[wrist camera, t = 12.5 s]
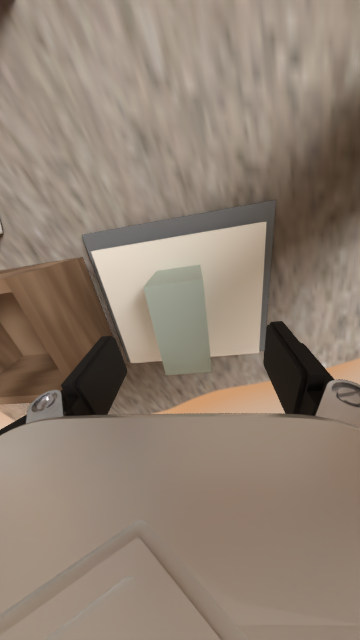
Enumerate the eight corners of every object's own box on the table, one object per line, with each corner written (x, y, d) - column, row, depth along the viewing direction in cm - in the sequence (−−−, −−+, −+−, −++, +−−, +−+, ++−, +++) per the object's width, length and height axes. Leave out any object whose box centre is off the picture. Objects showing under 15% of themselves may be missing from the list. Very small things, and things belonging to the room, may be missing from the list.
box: (82, 257, 19) (16, 275, 12) (117, 348, 24) (87, 399, 17) (-30, 275, 21) (-146, 301, 13) (26, 357, 26) (-35, 406, 19)
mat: (274, 200, 16) (276, 199, 15) (263, 348, 23) (264, 350, 22) (83, 234, 18) (81, 234, 17) (129, 359, 25) (128, 361, 25)
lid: (257, 222, 16) (300, 219, 10) (253, 341, 22) (277, 389, 16) (101, 248, 18) (52, 261, 12) (136, 352, 24) (115, 398, 17)
